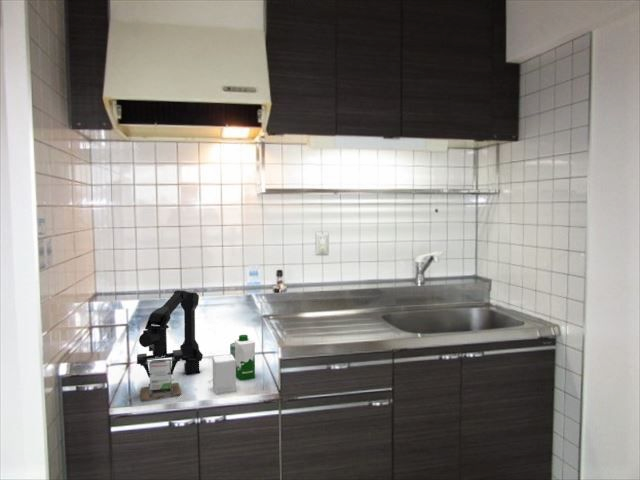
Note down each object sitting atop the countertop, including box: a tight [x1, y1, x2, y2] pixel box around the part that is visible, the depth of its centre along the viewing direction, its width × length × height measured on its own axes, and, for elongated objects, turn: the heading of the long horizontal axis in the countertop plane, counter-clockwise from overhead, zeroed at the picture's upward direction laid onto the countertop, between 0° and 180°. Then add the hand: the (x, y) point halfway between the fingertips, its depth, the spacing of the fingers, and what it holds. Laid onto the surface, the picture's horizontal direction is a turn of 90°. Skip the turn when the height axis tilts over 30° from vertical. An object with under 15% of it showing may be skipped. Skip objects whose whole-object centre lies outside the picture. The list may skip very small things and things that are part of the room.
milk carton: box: [234, 334, 256, 381], centre depth 221 cm, size 9×9×20 cm
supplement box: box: [212, 354, 237, 396], centre depth 205 cm, size 9×9×15 cm
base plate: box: [140, 382, 182, 402], centre depth 204 cm, size 16×14×2 cm
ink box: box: [148, 358, 173, 390], centre depth 204 cm, size 9×5×12 cm, turn 100°
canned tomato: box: [229, 342, 235, 359], centre depth 240 cm, size 8×8×11 cm
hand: (160, 376), depth 204 cm, fingers closed on ink box, 9 cm apart
